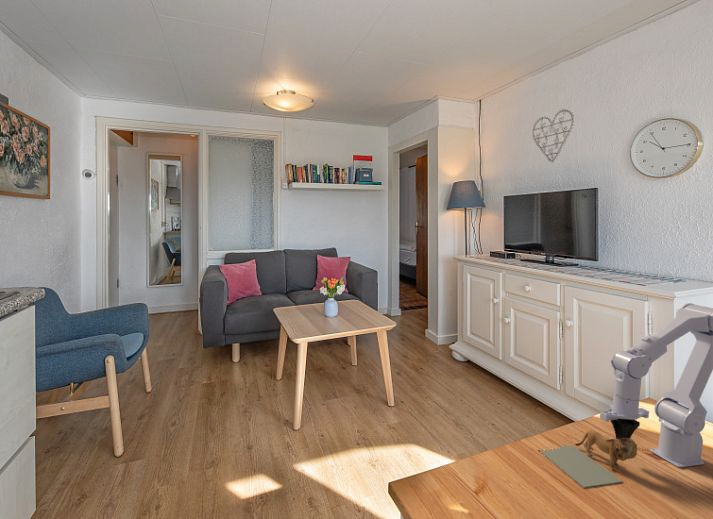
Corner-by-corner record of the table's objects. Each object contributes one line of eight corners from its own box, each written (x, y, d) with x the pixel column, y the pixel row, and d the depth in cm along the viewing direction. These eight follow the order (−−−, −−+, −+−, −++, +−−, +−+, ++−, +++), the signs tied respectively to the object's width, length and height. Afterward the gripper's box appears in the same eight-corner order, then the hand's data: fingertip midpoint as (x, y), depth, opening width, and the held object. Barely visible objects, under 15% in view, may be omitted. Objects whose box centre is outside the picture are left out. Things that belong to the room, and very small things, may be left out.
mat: (572, 446, 108) (572, 445, 108) (623, 482, 92) (623, 481, 92) (537, 450, 105) (537, 448, 105) (583, 488, 90) (583, 486, 90)
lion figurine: (637, 473, 96) (642, 440, 96) (629, 479, 93) (634, 445, 93) (578, 444, 109) (583, 415, 108) (569, 448, 106) (573, 418, 105)
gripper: (633, 388, 106) (629, 433, 107) (592, 391, 103) (588, 437, 104) (658, 399, 99) (653, 447, 100) (615, 402, 96) (610, 452, 97)
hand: (621, 443), depth 102 cm, fingers closed
